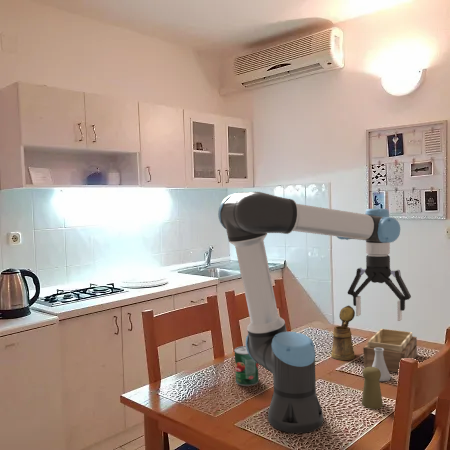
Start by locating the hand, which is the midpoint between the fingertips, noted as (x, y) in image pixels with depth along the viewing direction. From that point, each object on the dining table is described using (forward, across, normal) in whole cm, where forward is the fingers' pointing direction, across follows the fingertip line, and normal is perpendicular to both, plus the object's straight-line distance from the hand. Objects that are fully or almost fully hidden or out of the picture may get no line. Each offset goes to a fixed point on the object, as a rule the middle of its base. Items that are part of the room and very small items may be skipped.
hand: (378, 317), depth 156 cm
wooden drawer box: (+20, 0, -18) cm, 27 cm away
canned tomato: (+21, +38, +24) cm, 49 cm away
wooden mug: (+21, +18, -17) cm, 32 cm away
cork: (+21, -4, +21) cm, 30 cm away
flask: (+21, 0, 0) cm, 21 cm away
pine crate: (+20, 0, -18) cm, 27 cm away
